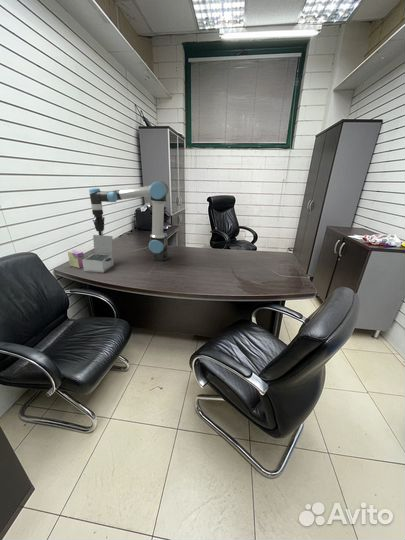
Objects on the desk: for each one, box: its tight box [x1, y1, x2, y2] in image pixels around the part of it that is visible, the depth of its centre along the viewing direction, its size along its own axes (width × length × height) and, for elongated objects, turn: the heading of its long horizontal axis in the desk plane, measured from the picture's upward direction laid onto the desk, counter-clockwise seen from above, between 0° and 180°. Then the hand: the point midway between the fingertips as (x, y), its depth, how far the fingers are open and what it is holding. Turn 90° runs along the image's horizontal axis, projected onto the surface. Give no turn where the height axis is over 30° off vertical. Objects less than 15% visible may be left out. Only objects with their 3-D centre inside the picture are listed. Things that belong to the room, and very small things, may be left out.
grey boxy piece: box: [82, 253, 115, 274], centre depth 171 cm, size 20×15×9 cm
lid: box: [92, 234, 114, 256], centre depth 176 cm, size 16×15×3 cm
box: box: [67, 249, 85, 269], centre depth 173 cm, size 10×6×12 cm, turn 65°
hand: (101, 238), depth 179 cm, fingers closed
